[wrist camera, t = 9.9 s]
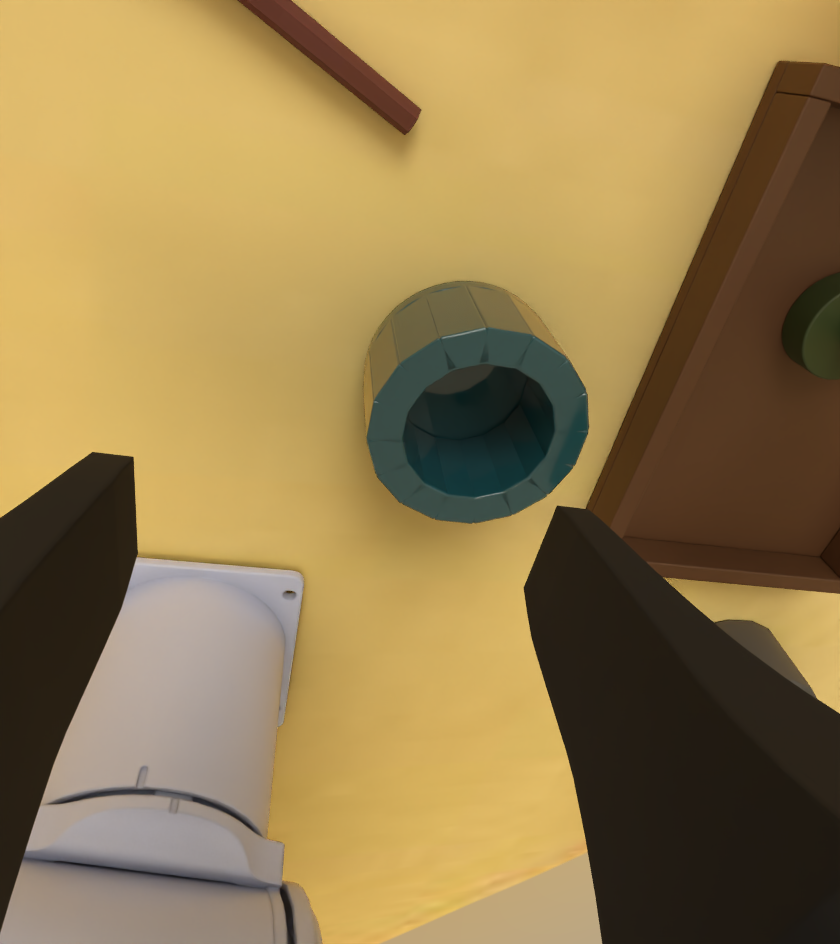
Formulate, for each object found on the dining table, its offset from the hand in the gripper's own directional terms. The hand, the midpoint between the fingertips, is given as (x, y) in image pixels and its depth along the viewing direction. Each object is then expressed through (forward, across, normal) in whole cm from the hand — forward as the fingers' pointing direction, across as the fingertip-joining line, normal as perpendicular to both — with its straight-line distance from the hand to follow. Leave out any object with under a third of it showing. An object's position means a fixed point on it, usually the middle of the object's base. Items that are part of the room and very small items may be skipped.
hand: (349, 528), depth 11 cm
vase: (+10, -4, +2) cm, 11 cm away
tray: (+10, -16, 0) cm, 19 cm away
